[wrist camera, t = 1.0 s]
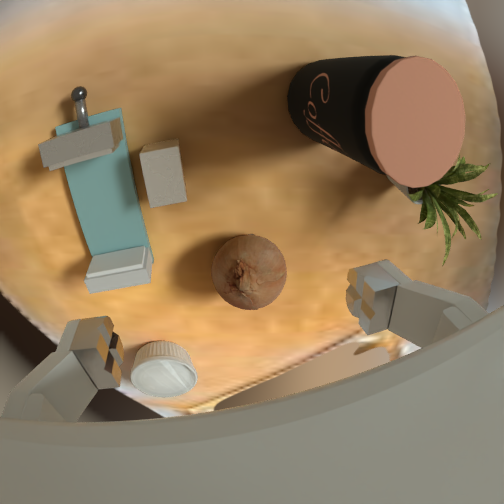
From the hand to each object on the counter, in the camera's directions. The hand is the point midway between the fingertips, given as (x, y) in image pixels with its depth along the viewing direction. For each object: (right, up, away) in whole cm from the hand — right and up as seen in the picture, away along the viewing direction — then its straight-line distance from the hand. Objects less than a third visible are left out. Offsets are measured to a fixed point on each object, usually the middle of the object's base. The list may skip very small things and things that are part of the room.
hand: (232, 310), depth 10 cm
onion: (-1, +2, +33) cm, 33 cm away
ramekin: (-15, -16, +40) cm, 46 cm away
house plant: (+23, +14, +32) cm, 41 cm away
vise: (-17, +9, +24) cm, 30 cm away
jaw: (-18, +16, +17) cm, 29 cm away
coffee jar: (+9, +21, +24) cm, 33 cm away
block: (-10, +12, +24) cm, 28 cm away
